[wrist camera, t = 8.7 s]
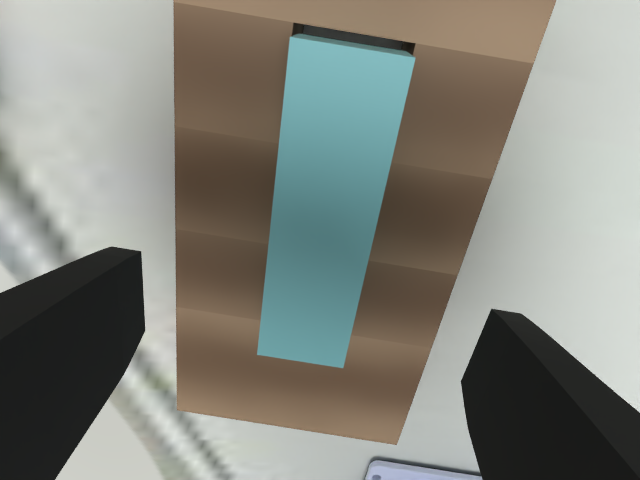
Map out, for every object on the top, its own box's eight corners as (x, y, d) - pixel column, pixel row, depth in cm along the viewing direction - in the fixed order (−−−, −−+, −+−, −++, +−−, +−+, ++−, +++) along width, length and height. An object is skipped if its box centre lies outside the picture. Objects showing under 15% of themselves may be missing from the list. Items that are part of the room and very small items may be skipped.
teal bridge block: (345, 286, 19) (343, 368, 15) (278, 276, 19) (257, 354, 15) (395, 44, 15) (415, 57, 10) (308, 29, 15) (290, 37, 10)
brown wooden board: (391, 393, 22) (396, 444, 19) (198, 362, 22) (177, 410, 19) (573, -173, 12) (637, -227, 9) (212, -238, 12) (171, -311, 9)
